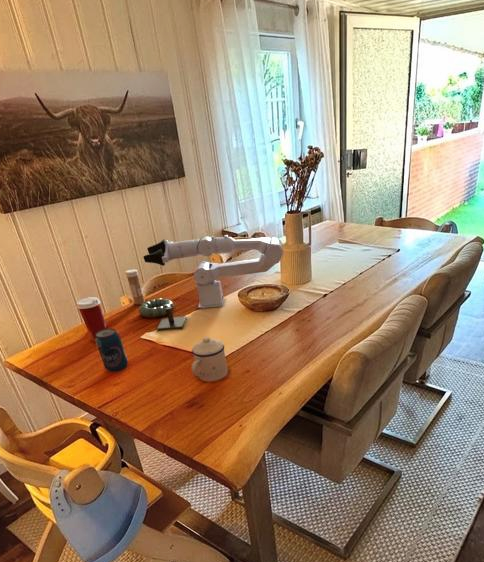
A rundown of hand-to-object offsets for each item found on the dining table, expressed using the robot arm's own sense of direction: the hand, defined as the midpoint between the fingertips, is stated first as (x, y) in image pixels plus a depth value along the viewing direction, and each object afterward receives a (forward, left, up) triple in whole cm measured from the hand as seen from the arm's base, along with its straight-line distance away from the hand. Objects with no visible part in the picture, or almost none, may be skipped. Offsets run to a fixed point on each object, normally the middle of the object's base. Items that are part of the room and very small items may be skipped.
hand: (146, 254), depth 159 cm
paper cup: (+16, +24, -21) cm, 36 cm away
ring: (0, +4, -19) cm, 20 cm away
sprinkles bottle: (+10, -8, -21) cm, 25 cm away
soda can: (+3, +47, -21) cm, 51 cm away
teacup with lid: (-27, +57, -21) cm, 66 cm away
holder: (-8, +17, -21) cm, 28 cm away
